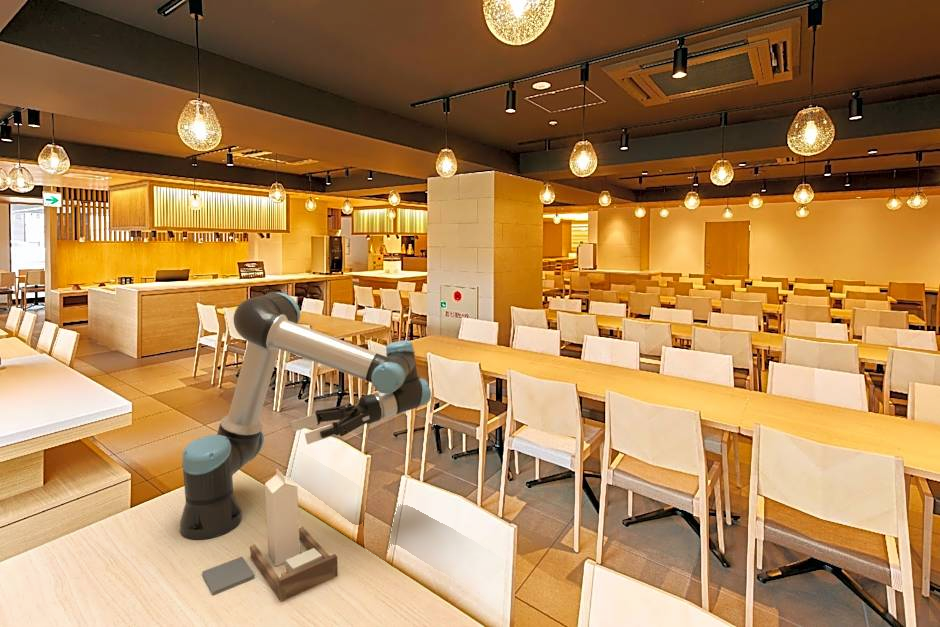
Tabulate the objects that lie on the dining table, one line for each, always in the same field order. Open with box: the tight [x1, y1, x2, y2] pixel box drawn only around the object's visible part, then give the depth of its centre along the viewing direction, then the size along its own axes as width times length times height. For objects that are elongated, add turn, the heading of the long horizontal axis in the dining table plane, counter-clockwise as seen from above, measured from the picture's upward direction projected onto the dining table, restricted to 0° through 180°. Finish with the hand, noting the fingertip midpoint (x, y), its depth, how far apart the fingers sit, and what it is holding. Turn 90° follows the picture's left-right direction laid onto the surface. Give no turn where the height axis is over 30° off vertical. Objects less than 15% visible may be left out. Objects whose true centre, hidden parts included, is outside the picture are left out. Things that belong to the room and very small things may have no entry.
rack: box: [249, 526, 339, 602], centre depth 123 cm, size 20×13×5 cm
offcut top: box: [285, 548, 322, 574], centre depth 118 cm, size 4×7×3 cm, turn 134°
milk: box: [264, 468, 301, 567], centre depth 126 cm, size 6×6×22 cm
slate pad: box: [201, 556, 256, 596], centre depth 120 cm, size 9×9×1 cm
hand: (298, 432), depth 128 cm, fingers open, 13 cm apart
